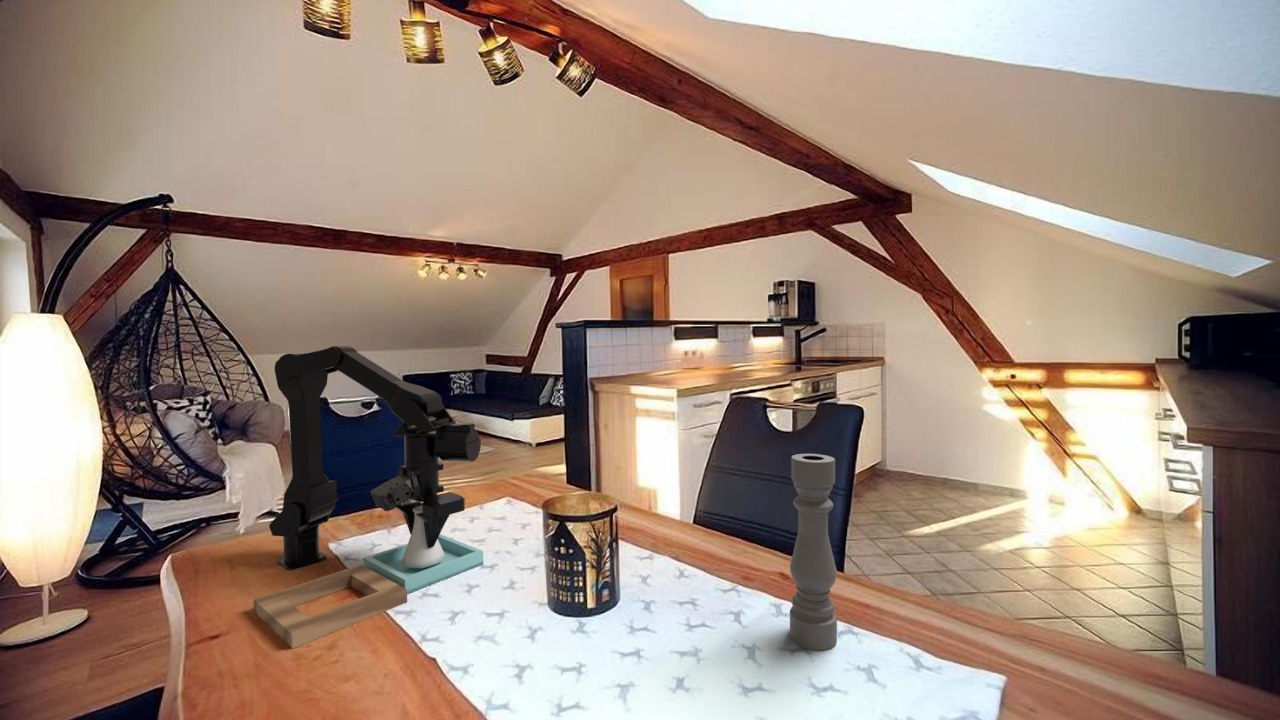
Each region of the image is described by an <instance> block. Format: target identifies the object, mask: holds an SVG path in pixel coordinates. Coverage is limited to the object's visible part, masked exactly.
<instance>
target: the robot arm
mask: <svg viewBox="0 0 1280 720" xmlns="http://www.w3.org/2000/svg"><path fill="white" fill-rule="evenodd" d="M335 372H340V373H342V374H343V375H345V376H346V377H348V378H350V380H352V381H354V382H355V383H358V385H360V386H363V388H365V389H367V390H368V391H370V392H371V393H373V394H375V395H376V396H378V397H380V398H381V399H382V400H383V401H384V402H385V403H387V406H388V407H389V410H390V411H391V412H392V413H393V414H394V415H395V416H396V417H397V418H398V419H400V420H401V421H402V422H401V423H400V426H398V428H397V429H395V430H394V431H393V432H392V435H393V437H403V438H404V465H401V466H399V467H400V468H398V475H397V476H395V477H393V478H390V479H389V480H386V481H385V482H383V483H381V484H380V485H379V486H376V487H375V488H373V489H372V490H371V491H370V494H371V497H372V499H373V501H374V504H375V506H376V508H377V509H381V510H383V511H384V512H391V511H392V510H394V509H396V510H398V511H399V512H401V513H402V515H403V518H404V521H405V522H406V526H407V528H408V531H409V534H410V535H411V533H412V531H413V526H414V520H415V513H414V512H413V508H415V507H418V506H422V510H423V512H422V513H418V514H416V515H417V516H418V517H419V518H421V519H422V520H423V521H424V528H425V535H426V542H427V547H428V548H431V547H434V545H435V543H436V541H437V539H438V537H439V535H440V534H441V532H442V530H443V528H444V526H445V525H446V522H447V521H448V519H449V517H450V516H451V515H453V514H457V513H460V512H461V513H462V512H464V511H465V510H466V500H465V498H464V496H462V495H460V494H457V493H456V492H455V493H453V492H451V491H448V492H445V491H444V490H445V489H444V485H441V484H440V478H439V477H440V471H443V470H444V463H440V461H439V459H440V460H441V461H444V462H445V461H446V462H447V461H449V462H453V461H454V462H474V461H476V460H477V459H478V457H479V455H480V451H481V447H482V440H481V439H480V434H479V433H478V431H477V430H476V425H475V423H474V422H467V423H456V421H455V420H454V418H453V417H452V416H451V414H450V413H449V411H448V409H446V407H445V405H444V404H443V401H442V400H443V398H442V396H441V395H440V394H439V393H438V392H437V391H434V390H432V389H429V388H427V387H424V386H422V385H418V384H414V383H410V382H407V381H404V380H402V379H401V378H400V377H397V376H396V375H394V374H393V373H391V372H390V371H388V370H387V369H385V368H383V367H382V366H380V365H379V364H377V363H376V362H374V361H372V360H370V359H369V358H367V357H366V356H364V354H363V355H362V354H361V353H359V352H358V351H357V350H356V349H355V348H354V347H352V346H348V345H347V346H345V345H343V346H342V345H340V346H339V345H338V346H336V345H335V346H333V345H332V346H330V347H328V348H324V349H321V350H315V351H311V352H306V353H305V352H304V353H303V352H301V353H298V352H297V353H296V352H295V353H286V354H283V355H282V356H280V358H279V359H278V360H276V361H275V363H274V375H275V379H276V383H277V388H278V390H279V391H280V392H281V394H282V395H283V396H284V398H285V399H286V400H287V403H288V419H289V436H290V437H289V438H290V455H291V471H292V475H291V476H292V477H291V480H290V481H289V484H288V486H287V488H286V490H285V492H284V495H283V504H282V510H281V511H280V513H278V515H277V516H276V517H275V518H274V519H273V520H272V521H271V522H270V523H269V525H268V527H269V529H270V532H271V536H273V537H282V538H283V539H282V541H283V556H282V557H279V558H276V562H277V563H279V565H281V566H282V567H284V568H286V569H287V570H293V569H296V568H299V567H303V566H307V565H309V564H313V563H315V562H319V561H323V560H326V559H327V556H328V555H327V554H324V553H323V552H321V551H320V525H322V524H324V523H327V522H329V519H330V516H331V513H332V512H333V510H335V509H336V503H337V502H338V501H339V496H338V494H337V493H338V492H337V490H338V489H337V488H338V483H337V480H336V479H335V480H334V479H333V480H329V478H328V477H327V475H326V474H325V472H324V465H323V464H324V463H323V446H322V441H323V440H322V428H321V427H322V425H321V424H322V423H321V410H320V408H321V407H320V405H321V404H320V399H321V397H322V394H323V393H324V391H325V389H326V387H327V384H328V377H329V376H328V375H329V374H333V373H335ZM443 492H445V493H443ZM440 493H441V494H440Z"/></svg>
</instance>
